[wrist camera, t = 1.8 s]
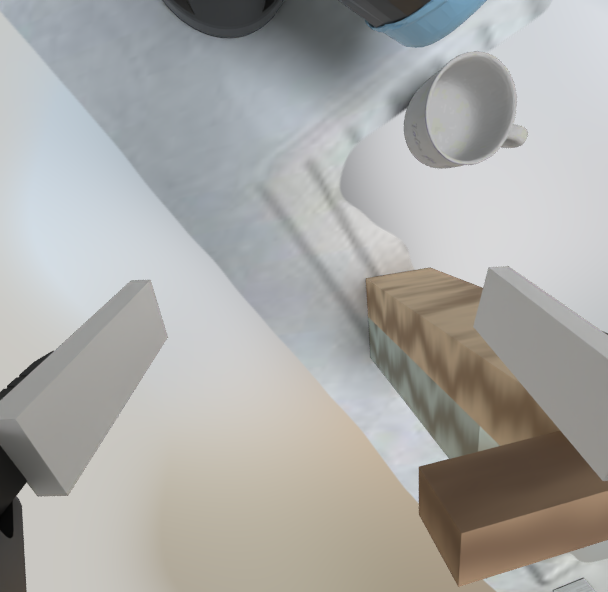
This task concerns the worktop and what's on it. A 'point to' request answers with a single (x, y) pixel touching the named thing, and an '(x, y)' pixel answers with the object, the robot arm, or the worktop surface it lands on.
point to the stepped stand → (447, 363)
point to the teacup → (463, 113)
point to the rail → (512, 506)
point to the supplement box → (576, 587)
